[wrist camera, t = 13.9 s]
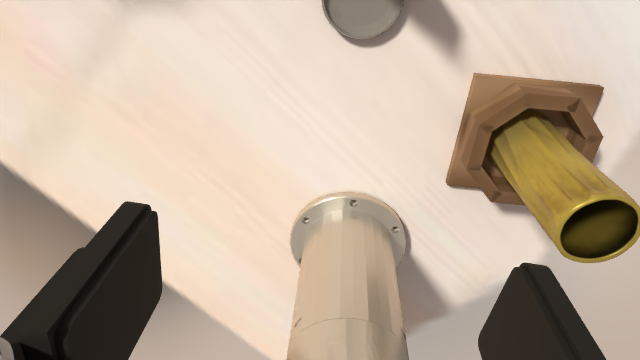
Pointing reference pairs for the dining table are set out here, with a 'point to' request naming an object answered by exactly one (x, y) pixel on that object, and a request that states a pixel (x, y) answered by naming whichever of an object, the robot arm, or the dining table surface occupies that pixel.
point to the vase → (564, 190)
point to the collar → (504, 104)
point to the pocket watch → (361, 16)
